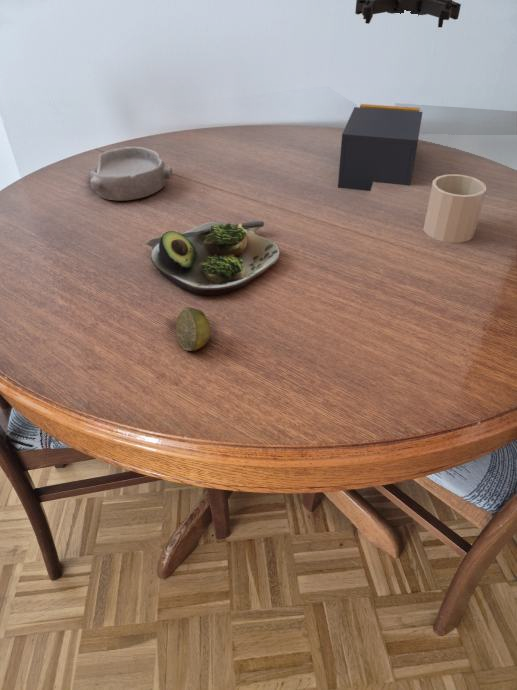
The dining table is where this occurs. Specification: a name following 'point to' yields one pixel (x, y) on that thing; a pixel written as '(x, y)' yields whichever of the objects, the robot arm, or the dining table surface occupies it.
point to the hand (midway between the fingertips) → (404, 17)
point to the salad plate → (213, 256)
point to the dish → (129, 173)
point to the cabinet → (378, 147)
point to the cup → (454, 208)
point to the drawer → (389, 107)
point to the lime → (192, 329)
